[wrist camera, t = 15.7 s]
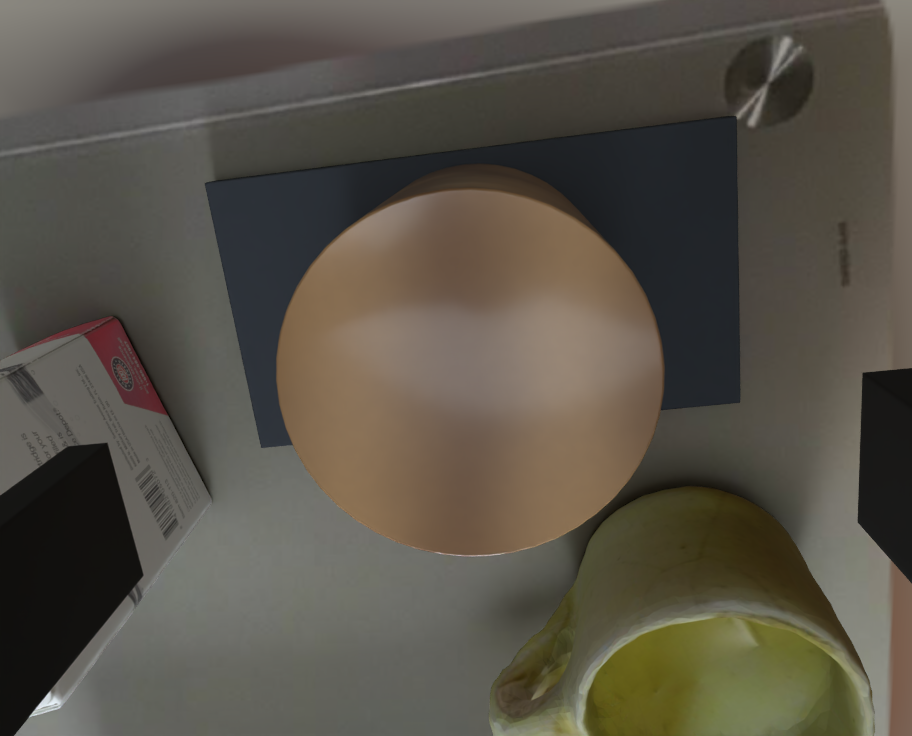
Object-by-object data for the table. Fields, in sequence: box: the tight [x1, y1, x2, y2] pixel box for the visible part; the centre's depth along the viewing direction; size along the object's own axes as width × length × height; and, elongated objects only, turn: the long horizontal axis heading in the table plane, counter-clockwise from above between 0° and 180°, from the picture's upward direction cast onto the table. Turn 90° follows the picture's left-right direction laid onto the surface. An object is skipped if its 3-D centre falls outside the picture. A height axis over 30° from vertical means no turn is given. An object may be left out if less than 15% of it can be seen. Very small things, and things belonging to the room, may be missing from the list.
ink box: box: [0, 316, 212, 717], centre depth 25 cm, size 9×5×12 cm, turn 20°
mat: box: [205, 116, 740, 448], centre depth 28 cm, size 18×10×1 cm, turn 97°
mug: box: [489, 486, 875, 736], centre depth 28 cm, size 12×10×10 cm
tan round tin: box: [276, 164, 665, 557], centre depth 23 cm, size 9×9×10 cm
